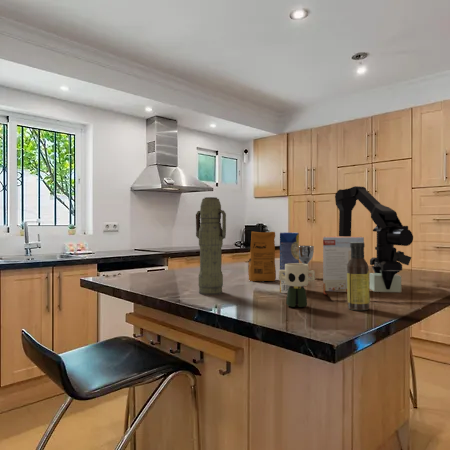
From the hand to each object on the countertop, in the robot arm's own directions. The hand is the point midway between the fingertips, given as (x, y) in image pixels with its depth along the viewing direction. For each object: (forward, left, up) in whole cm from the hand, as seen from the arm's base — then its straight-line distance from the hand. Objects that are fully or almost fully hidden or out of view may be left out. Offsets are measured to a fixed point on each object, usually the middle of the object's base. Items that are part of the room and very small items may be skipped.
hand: (384, 287), depth 137 cm
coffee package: (-45, +28, -3) cm, 53 cm away
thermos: (-63, -5, -3) cm, 63 cm away
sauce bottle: (-15, -26, -3) cm, 30 cm away
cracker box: (-15, -2, -3) cm, 15 cm away
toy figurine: (-33, -25, -3) cm, 41 cm away
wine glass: (-25, +39, -3) cm, 46 cm away
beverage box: (-34, +3, -3) cm, 34 cm away
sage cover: (0, 0, -1) cm, 1 cm away
